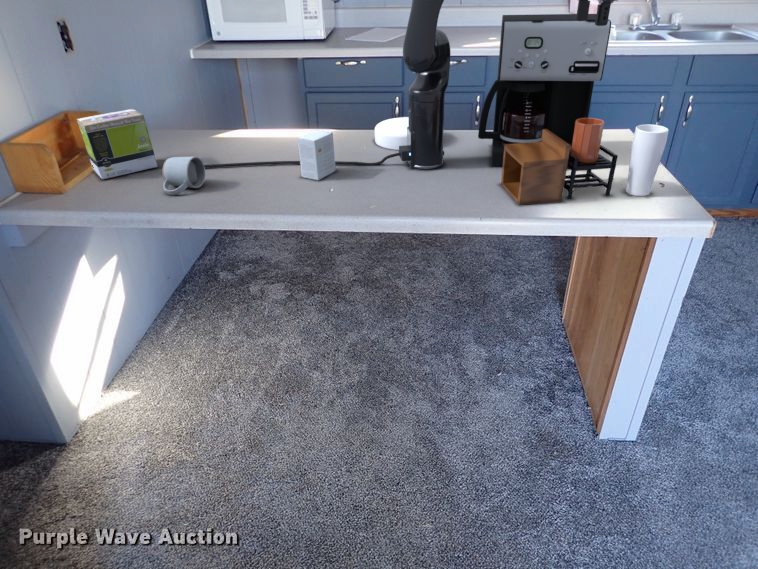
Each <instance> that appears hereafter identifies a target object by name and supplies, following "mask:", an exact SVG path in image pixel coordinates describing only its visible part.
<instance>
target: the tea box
mask: <svg viewBox="0 0 758 569" xmlns="http://www.w3.org/2000/svg"><path fill="white" fill-rule="evenodd" d="M76 122H77V125H78V128H79V130H80V133H81V136H82V137H81V138H82V140H83V142H84V146H85V150H86V152H87V156H88V157H89V161H90V164H91V166H92V165H93V167H94V168H93V167H92V170H93V171H94V173H95V174H97V175H98V177H99V178H100V179H101V180H107V179H112V178H115V177H119V176H124V175H128V174H132V173H137V172H142V171H145V170H149V169H154V168H158V162H157V158H156V155H155V152H154V148H153V144H152V139H151V136H150V133H149V130H148V125H147V122H146V119H145V115H144V114H143V113H141V112H139V111H137V110H135V108H128V109H124V110H118V111H112V112H106V113H101V114H95V115H91V116H90V115H89V116H84V117H79V118H76Z"/></svg>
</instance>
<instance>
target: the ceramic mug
mask: <svg viewBox="0 0 758 569" xmlns="http://www.w3.org/2000/svg"><path fill="white" fill-rule="evenodd" d="M204 165H205V164H204V162H203V160H201V158H200V157H198V156H172V157H169V158H167V159H166V160H164V162H163V165H162V169H161V170H162V176H163V179H164V182H163V185H162V188H163V190H164V191H165V193H166V194H167V195H169V196H177V195H180V194H181V193H183V192H184V191H186V189H188V188H189V189H200V188H201V187H202V186H203V184H204V183H205V180H206V168H205V167H204ZM169 186H173V187H177V188H174V189H172V190H170V189H168V188H169Z"/></svg>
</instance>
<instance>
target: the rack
mask: <svg viewBox="0 0 758 569" xmlns="http://www.w3.org/2000/svg"><path fill="white" fill-rule="evenodd" d="M599 151H601V152H603V153H605V154H606V155H608V156H609V157H611V160H609V158H607V157H606V156H603V155H602V154H601V153H599V154H598V159H597V161H595V162H578V158H577V157H575V156H574V155H573V154H571V151H570V152H569V158H568V164H567V167H568V168H570V169H569V170H570V174H568V175H567V174H566V177H565V183H564V189H565V190H566V191H567V195H566V198H567V200H572V199H573V193H574V189H582V188H595V187H597V188H598V187H604V188H605V193H604V196H606V197H610V196H611V191H612V186H613V183H614V182H613V181H614V177H615V173H616V172H615V171H616V167H617V162H618V156H619V155H618V154H616V153H615V152H613V151H611V150H610V149H608V148H606V147H605V146H604V145H602V144H600V149H599ZM606 169H607V170H608V169H609V173H608V178H607V181H605V180H604V179H602V178H601V177H600V176H598V175H596V173H594V172H592V170H593V171H595V170H606ZM579 171H585V172H586V173H580V174H579V173H578V174H577V172H579Z"/></svg>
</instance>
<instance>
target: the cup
mask: <svg viewBox="0 0 758 569" xmlns="http://www.w3.org/2000/svg"><path fill="white" fill-rule="evenodd" d="M604 127H605V120H604V119H600V118H596V117H588V118H579V119H576V123H575V129H574V135H573V142H572V148H571V154H573V155H574V156H575V157H577V158H578V162H595V161H597V159H598V154H600V145H602V138H603V132H604Z"/></svg>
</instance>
